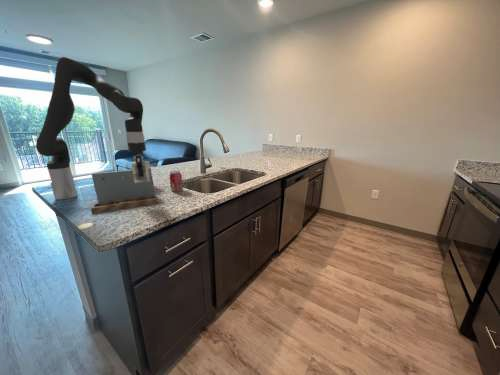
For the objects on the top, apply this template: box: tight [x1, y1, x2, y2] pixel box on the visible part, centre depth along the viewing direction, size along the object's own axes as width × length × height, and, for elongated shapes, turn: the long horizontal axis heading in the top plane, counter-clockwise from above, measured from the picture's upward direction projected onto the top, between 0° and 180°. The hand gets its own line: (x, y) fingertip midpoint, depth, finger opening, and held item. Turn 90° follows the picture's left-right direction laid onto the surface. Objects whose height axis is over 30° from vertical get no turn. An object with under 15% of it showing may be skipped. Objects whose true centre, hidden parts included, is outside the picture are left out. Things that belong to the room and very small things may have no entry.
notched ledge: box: [90, 194, 158, 214], centre depth 105 cm, size 28×7×3 cm, turn 117°
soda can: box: [169, 170, 184, 193], centre depth 127 cm, size 7×7×12 cm
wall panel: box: [91, 169, 155, 203], centre depth 112 cm, size 27×3×16 cm, turn 117°
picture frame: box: [131, 161, 150, 183], centre depth 104 cm, size 7×3×10 cm, turn 117°
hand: (141, 175), depth 105 cm, fingers closed on picture frame, 3 cm apart
